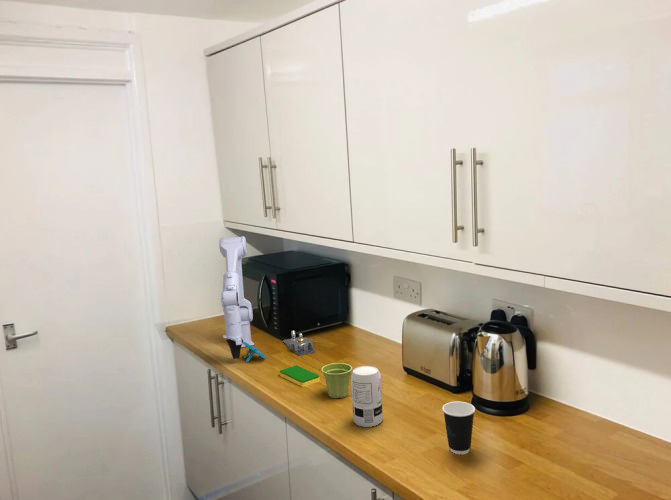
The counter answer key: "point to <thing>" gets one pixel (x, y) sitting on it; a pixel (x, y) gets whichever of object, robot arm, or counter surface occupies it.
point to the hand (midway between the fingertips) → (236, 358)
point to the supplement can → (366, 396)
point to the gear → (252, 352)
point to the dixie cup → (459, 425)
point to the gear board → (300, 344)
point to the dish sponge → (299, 376)
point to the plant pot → (337, 379)
